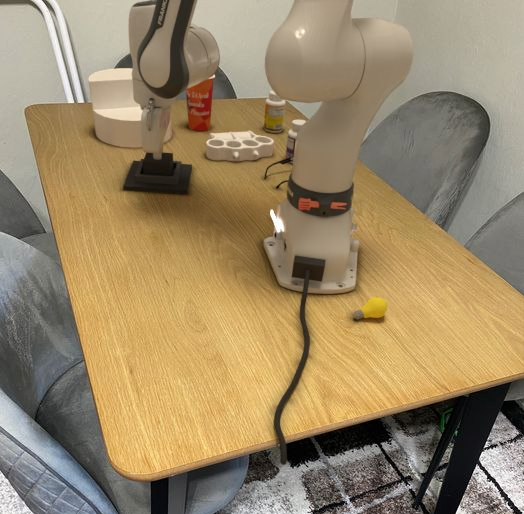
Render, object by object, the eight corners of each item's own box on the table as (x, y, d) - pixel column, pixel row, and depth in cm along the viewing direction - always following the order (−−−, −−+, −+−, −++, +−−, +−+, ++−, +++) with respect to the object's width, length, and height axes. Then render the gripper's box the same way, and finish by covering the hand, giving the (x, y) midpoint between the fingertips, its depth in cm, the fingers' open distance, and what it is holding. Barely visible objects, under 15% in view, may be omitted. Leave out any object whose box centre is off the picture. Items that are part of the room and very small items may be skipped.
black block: (170, 180, 118) (170, 163, 115) (144, 178, 118) (142, 161, 115) (173, 169, 123) (172, 152, 120) (147, 168, 122) (146, 151, 119)
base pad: (187, 194, 116) (186, 183, 114) (123, 190, 115) (122, 179, 113) (191, 168, 126) (191, 158, 125) (133, 164, 125) (132, 154, 124)
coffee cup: (180, 129, 145) (178, 70, 135) (191, 120, 151) (190, 62, 141) (208, 134, 143) (208, 75, 133) (218, 125, 149) (219, 67, 139)
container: (106, 151, 130) (99, 94, 121) (87, 123, 142) (80, 69, 133) (182, 143, 137) (181, 89, 128) (158, 117, 150) (155, 66, 141)
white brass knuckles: (259, 139, 144) (280, 160, 134) (196, 143, 138) (213, 166, 128) (260, 127, 141) (281, 147, 132) (196, 130, 136) (213, 152, 126)
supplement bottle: (267, 125, 152) (270, 87, 146) (285, 129, 151) (289, 91, 144) (260, 131, 148) (263, 93, 142) (279, 135, 147) (282, 96, 140)
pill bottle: (306, 157, 137) (311, 119, 130) (305, 166, 133) (310, 127, 126) (285, 155, 137) (290, 117, 130) (284, 163, 133) (288, 124, 126)
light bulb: (389, 316, 88) (392, 306, 85) (357, 329, 88) (359, 319, 84) (379, 301, 90) (382, 290, 87) (348, 314, 89) (350, 303, 86)
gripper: (164, 109, 101) (167, 178, 110) (175, 78, 116) (176, 141, 125) (131, 107, 100) (136, 176, 110) (146, 76, 115) (150, 139, 125)
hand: (158, 157), depth 117 cm, fingers closed, pressing on black block
